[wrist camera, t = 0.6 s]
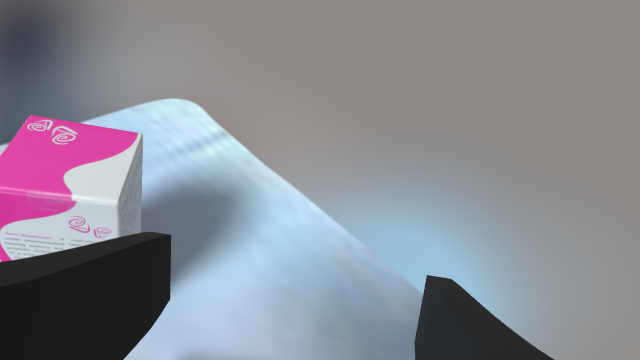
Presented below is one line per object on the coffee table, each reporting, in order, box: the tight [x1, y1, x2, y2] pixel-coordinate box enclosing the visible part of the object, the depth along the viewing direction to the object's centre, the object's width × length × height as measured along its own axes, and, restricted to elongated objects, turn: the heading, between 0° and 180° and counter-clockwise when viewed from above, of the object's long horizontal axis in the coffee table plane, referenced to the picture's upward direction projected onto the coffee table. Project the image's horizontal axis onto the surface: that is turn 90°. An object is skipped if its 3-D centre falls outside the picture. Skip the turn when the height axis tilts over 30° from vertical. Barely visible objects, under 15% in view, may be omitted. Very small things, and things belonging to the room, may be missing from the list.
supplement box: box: [0, 115, 143, 262], centre depth 23 cm, size 6×6×12 cm
